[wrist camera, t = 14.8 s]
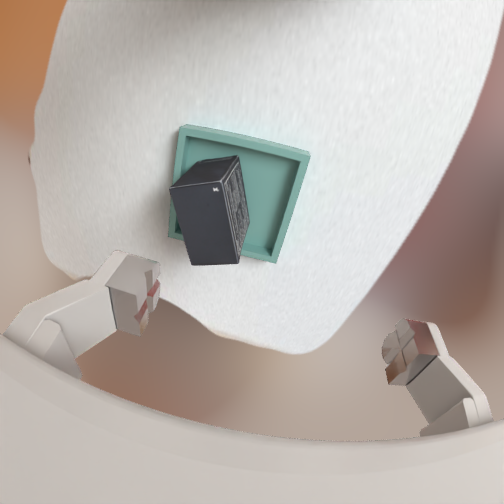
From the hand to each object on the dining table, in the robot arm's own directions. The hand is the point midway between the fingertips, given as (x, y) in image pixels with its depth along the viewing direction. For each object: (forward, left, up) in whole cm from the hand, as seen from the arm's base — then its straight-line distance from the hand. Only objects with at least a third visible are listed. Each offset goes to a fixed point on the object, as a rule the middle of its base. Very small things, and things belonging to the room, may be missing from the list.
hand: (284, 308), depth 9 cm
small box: (+10, -6, -31) cm, 33 cm away
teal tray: (+10, -5, -31) cm, 33 cm away
